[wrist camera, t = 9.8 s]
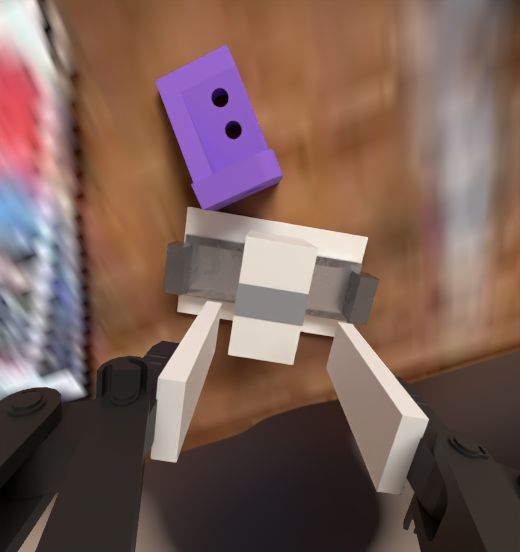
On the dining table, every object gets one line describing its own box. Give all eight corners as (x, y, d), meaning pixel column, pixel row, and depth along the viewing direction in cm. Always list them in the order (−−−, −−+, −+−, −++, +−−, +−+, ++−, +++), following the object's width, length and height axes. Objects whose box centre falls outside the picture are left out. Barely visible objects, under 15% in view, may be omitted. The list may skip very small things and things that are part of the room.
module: (236, 318, 27) (227, 355, 20) (250, 229, 25) (245, 236, 18) (285, 326, 27) (293, 365, 20) (303, 239, 25) (319, 248, 18)
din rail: (176, 289, 28) (162, 300, 24) (182, 231, 26) (168, 234, 23) (350, 317, 28) (363, 333, 25) (364, 262, 27) (381, 270, 23)
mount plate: (179, 308, 29) (177, 311, 28) (190, 206, 27) (187, 206, 26) (339, 333, 30) (342, 338, 29) (364, 236, 27) (368, 237, 26)
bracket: (278, 182, 27) (284, 172, 20) (217, 210, 27) (202, 210, 21) (228, 54, 24) (216, -6, 17) (161, 88, 25) (125, 43, 18)
